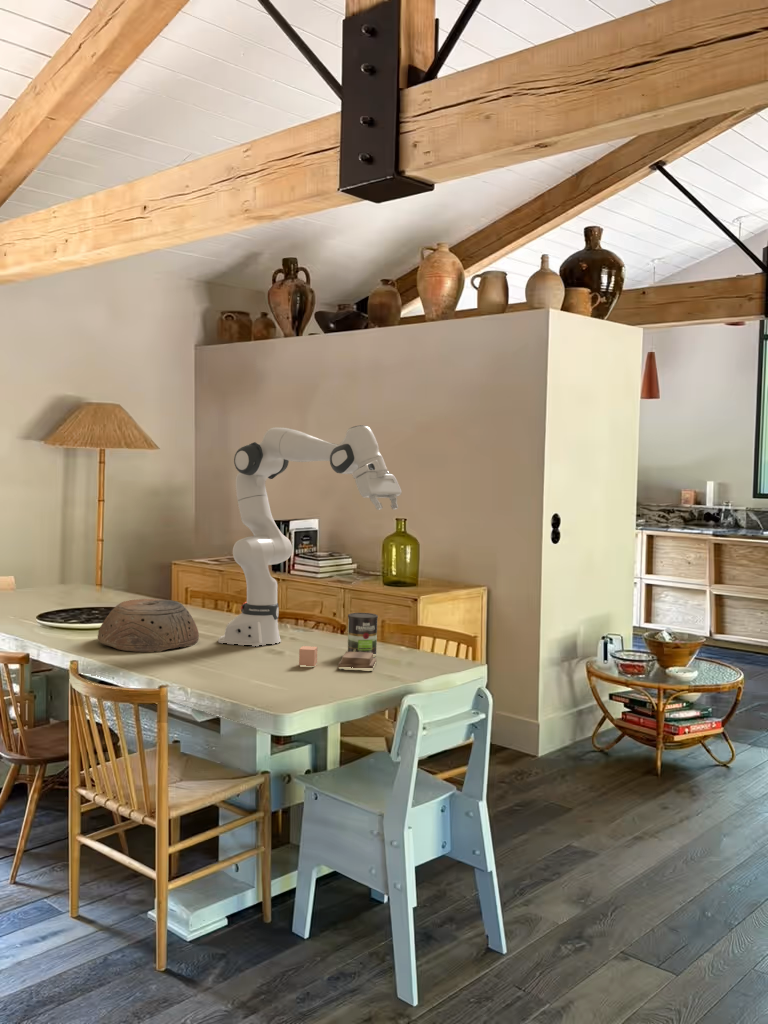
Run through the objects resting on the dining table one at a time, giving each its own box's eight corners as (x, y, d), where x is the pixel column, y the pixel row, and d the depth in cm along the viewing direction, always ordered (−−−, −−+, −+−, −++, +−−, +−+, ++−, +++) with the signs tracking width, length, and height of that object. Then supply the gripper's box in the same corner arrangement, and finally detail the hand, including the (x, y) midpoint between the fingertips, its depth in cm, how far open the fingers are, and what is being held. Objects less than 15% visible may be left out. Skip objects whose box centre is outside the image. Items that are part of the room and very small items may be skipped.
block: (299, 667, 299) (299, 649, 298) (302, 664, 304) (302, 646, 303) (314, 668, 298) (314, 649, 298) (317, 664, 303) (317, 646, 303)
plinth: (338, 670, 296) (338, 657, 296) (343, 662, 307) (343, 650, 307) (372, 671, 295) (372, 659, 295) (376, 664, 306) (376, 652, 306)
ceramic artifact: (84, 653, 313) (83, 609, 312) (111, 635, 349) (111, 595, 348) (189, 653, 314) (188, 609, 314) (205, 634, 350) (205, 595, 349)
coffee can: (380, 658, 316) (381, 617, 315) (350, 659, 313) (351, 617, 312) (372, 651, 326) (373, 612, 325) (344, 652, 323) (345, 612, 322)
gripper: (383, 475, 314) (397, 512, 311) (348, 473, 297) (362, 513, 294) (397, 467, 311) (411, 505, 308) (363, 465, 294) (378, 505, 291)
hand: (387, 508), depth 301 cm, fingers open, 8 cm apart
